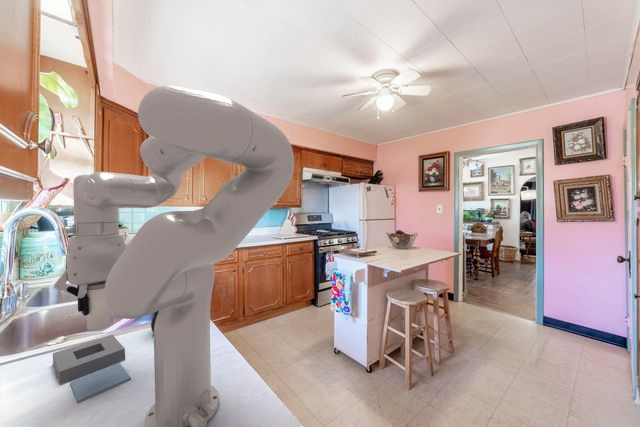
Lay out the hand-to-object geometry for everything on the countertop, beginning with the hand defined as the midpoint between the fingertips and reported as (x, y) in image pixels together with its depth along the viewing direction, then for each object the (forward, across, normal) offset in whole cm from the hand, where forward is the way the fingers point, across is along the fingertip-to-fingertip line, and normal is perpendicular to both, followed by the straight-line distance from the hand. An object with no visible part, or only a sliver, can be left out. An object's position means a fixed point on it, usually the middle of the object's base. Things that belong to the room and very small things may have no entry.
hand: (98, 309), depth 57 cm
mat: (+17, 0, 0) cm, 17 cm away
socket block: (+17, 0, +12) cm, 20 cm away
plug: (+4, 0, 0) cm, 4 cm away
